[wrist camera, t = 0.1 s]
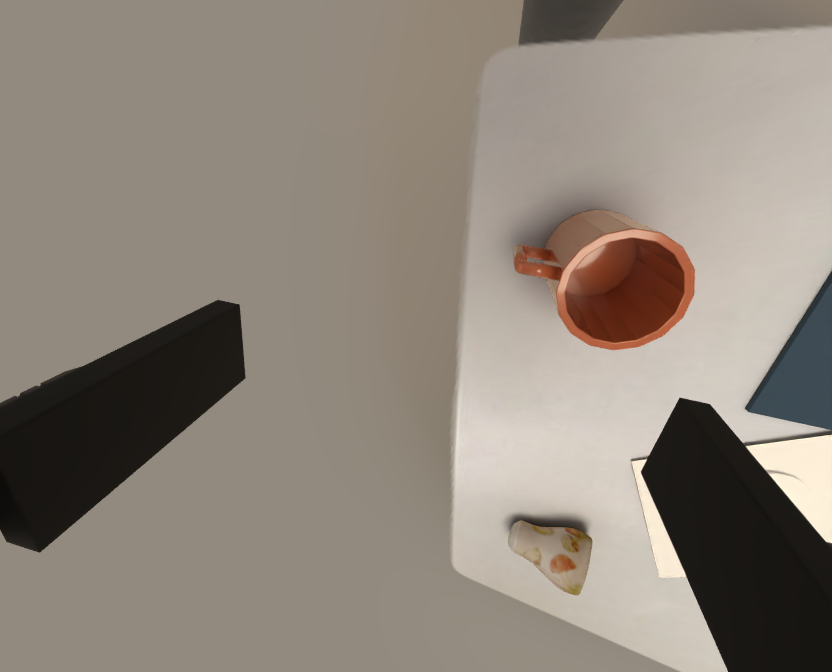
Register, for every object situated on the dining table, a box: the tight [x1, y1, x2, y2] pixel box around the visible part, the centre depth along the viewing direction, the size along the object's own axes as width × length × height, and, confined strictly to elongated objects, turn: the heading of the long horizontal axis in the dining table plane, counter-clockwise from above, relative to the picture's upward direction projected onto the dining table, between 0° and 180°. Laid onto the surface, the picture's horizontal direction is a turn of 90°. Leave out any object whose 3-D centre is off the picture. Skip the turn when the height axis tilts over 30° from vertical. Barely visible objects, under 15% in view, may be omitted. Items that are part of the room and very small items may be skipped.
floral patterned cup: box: [508, 520, 592, 595], centre depth 48 cm, size 8×10×10 cm
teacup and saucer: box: [768, 472, 813, 515], centre depth 40 cm, size 9×8×4 cm
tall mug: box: [513, 210, 695, 350], centre depth 31 cm, size 11×8×11 cm
